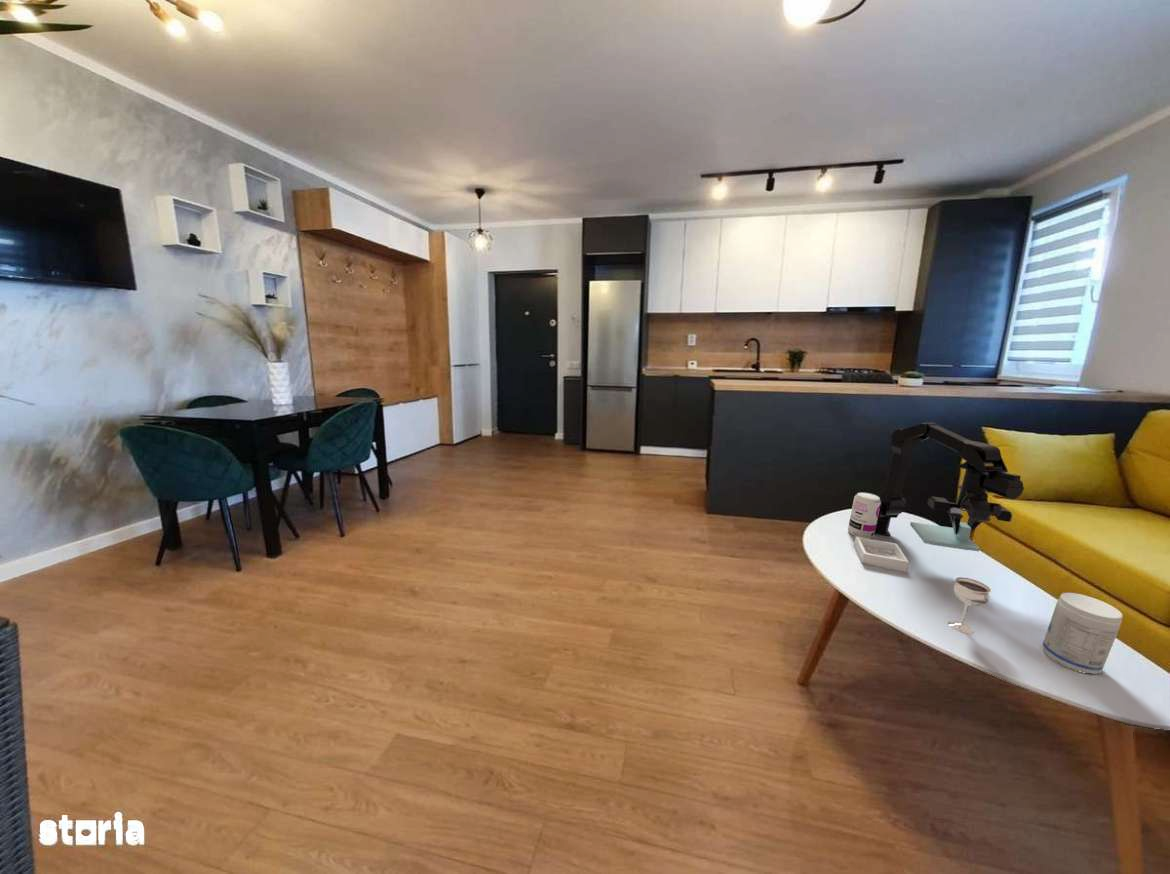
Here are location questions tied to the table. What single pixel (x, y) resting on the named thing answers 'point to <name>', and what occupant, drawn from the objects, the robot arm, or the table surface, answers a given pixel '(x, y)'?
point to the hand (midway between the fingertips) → (961, 534)
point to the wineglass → (969, 599)
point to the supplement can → (864, 515)
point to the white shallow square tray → (880, 554)
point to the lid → (945, 536)
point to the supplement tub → (1081, 632)
